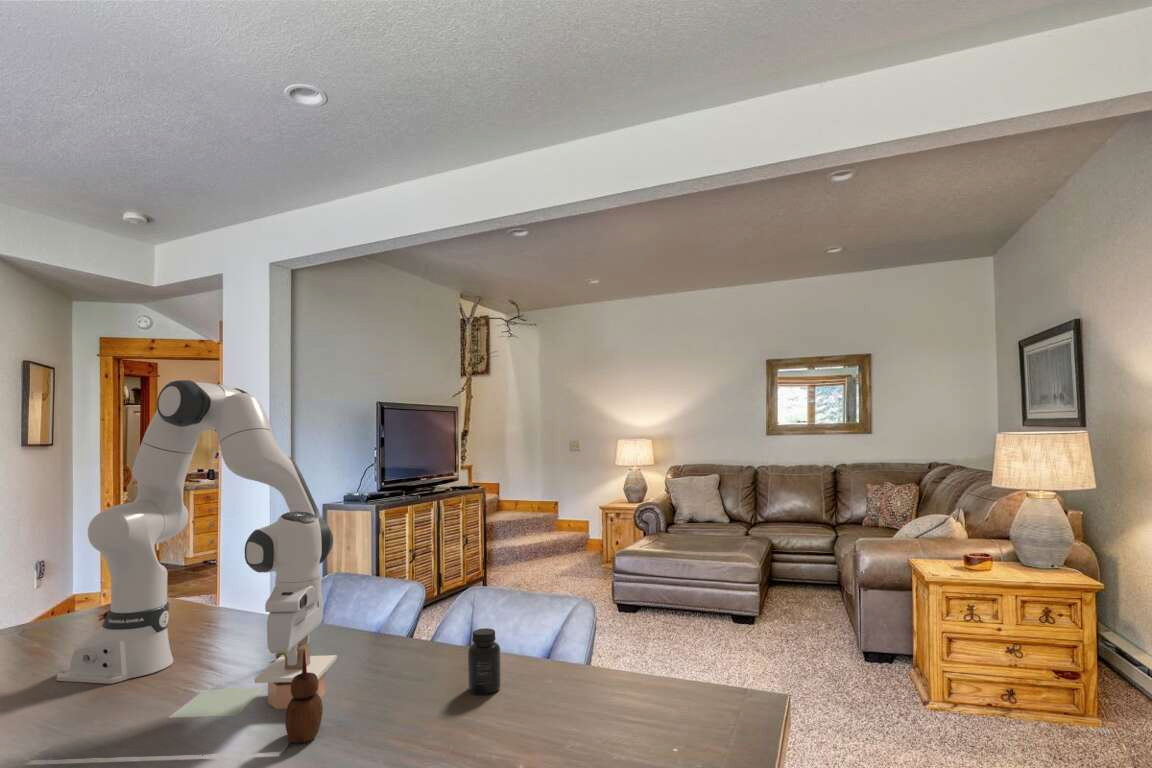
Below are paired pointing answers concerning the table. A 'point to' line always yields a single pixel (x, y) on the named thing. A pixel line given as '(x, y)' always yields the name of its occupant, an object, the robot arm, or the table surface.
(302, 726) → the wooden figurine
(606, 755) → the table surface
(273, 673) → the lid
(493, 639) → the supplement bottle
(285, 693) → the bowl
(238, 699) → the mat
